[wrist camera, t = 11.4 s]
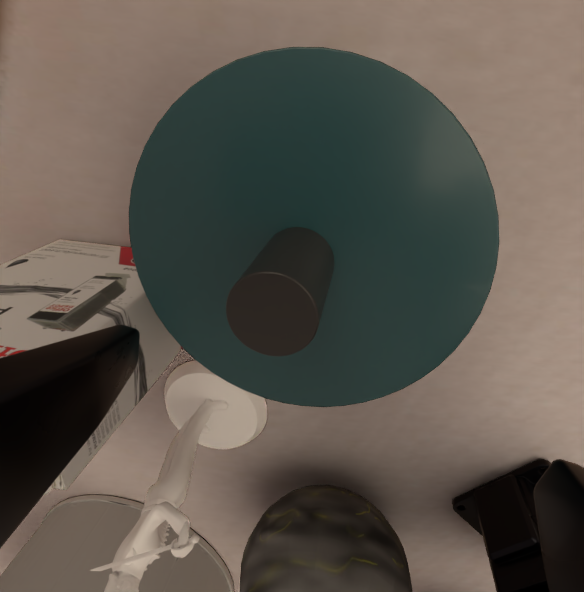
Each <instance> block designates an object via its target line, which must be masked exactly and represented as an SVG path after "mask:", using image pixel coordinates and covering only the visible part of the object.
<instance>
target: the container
mask: <svg viewBox="0 0 584 592" xmlns="http://www.w3.org/2000/svg"><path fill="white" fill-rule="evenodd" d="M143 508H144V504H142V503H139V502H136V501H132V500H128V499H124V498H119V497H114V496H106V495H84V496H77V497H73V498H69V499H67V500H64V501H62V502H60V503H58V504H57V505H56V506H54V507H53V508H52V509H51V510H50V511H49V513H48V514H47V515H46V517H45V518H44V520H43V522H42V524H41V526H40V527H39V528H38V530H37V531H36V532H35V533H34V535H33V536H32V537H31V538H30V539H29V541H28V542H27V543H26V544H25V546H24V547H23V548H22V549H21V551H20V552H19V553H18V554H17V556H16V557H15V558H14V559H13V561H12V562H11V563H10V564H9V566H8V567H7V568H6V569H5V571H4V572H3V573H2V574H1V576H0V592H104V590H105V588H106V585H107V583H108V581H109V574H112V573H113V571H112V568H109V569H106V570H103V571H90V570H91V569H94V568H97V567H101V566H104V565H107V564H110V563H112V562H113V559H114V557H115V554H116V552H117V550H118V548H119V547H120V545H121V543H122V542H123V540H124V539H125V538H126V537H127V535H128V534H129V533H130V532H131V530H132V529H133V528H134V526H135V525H136V523H137V522H138V520H139V518H140V517H141V512H142V509H143ZM169 526H170V524H169ZM168 529H169V531H166V533H169V536H166V537H165V538H166V539H167V541H165V542H164V543H165V544H166V545H165V546H167V545H170V544H171V543H172V541H173V540H174V539H176V538H177V541H178V538H179V535H178V534H177V533H176V532H175V531H174V530H173V528H172V527H168ZM188 531H189V538H191V537H192V536H193V534H194V533H195V532H194V531H193V530H192V529H190V528H189V530H188ZM196 535H198V534H197V533H196ZM198 536H199V535H198ZM199 537H200V536H199ZM178 548H180V547H178ZM158 555H160V558H159V559H155V560H154V561H153V562H152V564H148V565H147V570H146V571H144V573H143V576H142V579H141V580H140V583H139V587H138V589H139V592H234V587H233V581H232V578H231V576H230V573H229V571H228V569H227V567H226V565H225V564H224V562H223V561H222V559H221V558H220V556H219V555H218V554H217V553H216V552H215V551H214V549H213V548H212V547H211V546H210V545H209V544H208V543H207V542H206V541H205V540H204V539H203V538H201V537H200V539H199V541H198V543H195V544H194V546H193V549H192V550H191V551H190V552H189V553H188V554H187V555H186V556H185V557H183V558H181V557H175V556H173V554H172V553H171V549H170V550H166V551H163V552H162V553H159V554H158Z"/></svg>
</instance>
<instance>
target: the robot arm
mask: <svg viewBox="0 0 584 592" xmlns="http://www.w3.org/2000/svg"><path fill="white" fill-rule="evenodd" d="M139 340H140V334H139V331H138V330H137V329H136V328H132V327H129V326H126V325H122V324H119V325H115V326H112V327H108V328H105V329H101V330H98V331H94V332H91V333H87V334H84V335H80V336H76V337H73V338H69V339H66V340H62V341H59V342H55V343H52V344H48V345H45V346H41V347H38V348H34V349H30V350H27V351H23V352H20V353H16V354H13V355H9V356H6V357H2V358H0V548H1V547H2V545H3V544H4V543H5V542H6V541H7V539H8V538H9V537H10V536H11V534H12V533H13V532H14V531H15V529H16V528H17V527H18V526H19V524H20V523H21V522H22V521H23V519H24V518H25V517H26V516H27V515H28V513H29V512H30V511H31V510H32V508H33V507H34V506H35V505H36V503H37V502H38V501H39V500H40V498H41V497H42V496H43V495H44V493H45V492H46V491H47V490H48V489H49V487H50V486H51V485H52V484H53V482H54V481H55V480H56V479H57V477H58V476H59V475H60V474H61V472H62V471H63V470H64V469H65V467H66V466H67V465H68V464H69V463H70V461H71V460H72V459H73V458H74V456H75V455H76V454H77V453H78V451H79V450H80V449H81V448H82V446H83V445H84V444H85V443H86V441H87V440H88V439H89V438H90V437H91V435H92V434H93V433H94V431H95V430H96V429H97V427H98V426H99V425H100V423H101V422H102V420H103V419H104V417H105V416H106V414H107V413H108V411H109V409H110V408H111V406H112V405H113V403H114V402H115V400H116V399H117V397H118V395H119V394H120V392H121V391H122V389H123V388H124V386H125V385H126V383H127V381H128V380H129V378H130V377H131V375H132V374H133V372H134V370H135V369H136V366H137V364H138V358H139ZM541 468H544V469H541ZM452 504H453V509H454V510H455V512H457V513H458V514H459V515H460V516H461V517H462V518H463V519H464V520H465V521H467V522H468V523H469V524H470V525H471V526H472V527H473V528H474V529H475V530H477V531H478V532H479V533H480V534H481V535H482V536H483V539H484V543H485V547H486V551H487V555H488V558H489V562H490V566H491V570H492V574H493V578H494V582H495V586H496V591H497V592H584V468H583V467H581V466H580V465H578V464H575V463H571V462H568V461H565V460H561V459H557V460H555V461H553V462H552V463H550V462H548V461H547V460H543V459H539V460H536V461H534V462H532V463H529V464H527V465H525V466H523V467H521V468H519V469H516V470H514V471H512V472H510V473H508V474H506V475H503V476H501V477H499V478H497V479H495V480H493V481H490V482H488V483H486V484H484V485H482V486H480V487H477V488H475V489H473V490H471V491H469V492H467V493H464V494H462V495H460V496H458V497H456V498H454V499H453V500H452Z"/></svg>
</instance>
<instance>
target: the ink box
mask: <svg viewBox="0 0 584 592" xmlns="http://www.w3.org/2000/svg"><path fill="white" fill-rule="evenodd" d="M119 324H122V325H126V326H129V327H132V328H136V329H137V330H138V331H139V334H140V340H139V358H138V364H137V366H136V369H135V370H134V372H133V374H132V375H131V377H130V378H129V380H128V381H127V383H126V385H125V386H124V388H123V389H122V391H121V392H120V394H119V395H118V397H117V399H116V400H115V402H114V403H113V405H112V406H111V408H110V409H109V411H108V413H107V414H106V416H105V417H104V419H103V420H102V422H101V423H100V425H99V426H98V427H97V429H96V430H95V431H94V433H93V434H92V435H91V437H90V438H89V439H88V440H87V441H86V443H85V444H84V445H83V446H82V448H81V449H80V450H79V451H78V453H77V454H76V455H75V456H74V458H73V459H72V460H71V461H70V463H69V464H68V465H67V466H66V467H65V469H64V470H63V471H62V472H61V474H60V475H59V476H58V477H57V479H56V480H55V481H54V482H53V484H52V485H51V486H50V487H49V489H48V490H47V491H46V492H45V493H44V495H46V494H48V493H49V492H50V491H51V490H52V489H53V488H56V489H61V490H67V489H68V488H69V486H70V485H71V484H72V483H73V481H74V480H75V479H76V478H77V476H78V475H79V474H80V473H81V472H82V470H83V469H84V468H85V467H86V465H87V464H88V463H89V462H90V461H91V459H92V458H93V457H94V456H95V455H96V453H97V452H98V451H99V450H100V448H101V447H102V446H103V444H104V443H105V442H106V441H107V440H108V438H109V437H110V436H111V435H112V434H113V433H114V431H115V430H116V429H117V428H118V427H119V425H120V424H121V423H122V422H123V421H124V419H125V418H126V417H127V416H128V414H129V413H130V412H131V411H132V410H133V409H134V407H135V406H136V405H137V404H138V403H139V401H140V400H141V399H142V398H143V397H144V395H145V394H146V393H147V392H148V391H149V389H150V388H151V387H152V386H153V384H154V383H155V382H156V381H157V379H158V378H159V377H160V376H161V374H162V373H163V372H164V371H165V369H166V368H167V367H168V366H169V364H170V363H171V362H172V361H173V359H174V358H175V357H176V356H177V354H178V353H179V352H180V350H181V349H182V347H181V346H180V344H179V343H178V342H177V341H176V340H175V339H174V337H173V336H172V335H171V334H170V333H169V332H168V330H167V329H166V328H165V326H164V325H163V323H162V322H161V320H160V319H159V317H158V316H157V314H156V313H155V311H154V309H153V307H152V305H151V304H150V302H149V300H148V298H147V296H146V294H145V291H144V289H143V286H142V284H141V282H140V279H139V277H138V273H137V269H136V266H135V262H134V259H133V254H132V248H131V247H122V246H114V245H104V244H96V243H88V242H78V241H70V240H62V239H59V240H57V241H54V242H52V243H50V244H47V245H45V246H43V247H40V248H38V249H36V250H34V251H31V252H29V253H27V254H24V255H22V256H20V257H17V258H15V259H13V260H10V261H8V262H6V263H3V264H1V265H0V358H2V357H6V356H9V355H13V354H16V353H20V352H23V351H27V350H30V349H34V348H38V347H41V346H45V345H48V344H52V343H55V342H59V341H62V340H66V339H69V338H73V337H76V336H80V335H84V334H87V333H91V332H94V331H98V330H101V329H105V328H108V327H112V326H115V325H119Z"/></svg>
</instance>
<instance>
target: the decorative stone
mask: <svg viewBox="0 0 584 592" xmlns="http://www.w3.org/2000/svg"><path fill="white" fill-rule="evenodd" d="M240 592H412V585H411V578H410V573H409V568H408V562H407V558H406V555H405V552H404V548H403V546H402V544H401V542H400V540H399V538H398V536H397V534H396V533H395V531H394V530H393V528H392V527H391V525H390V524H389V523H388V521H387V520H386V518H385V517H384V516H383V514H382V513H381V512H380V511H379V510H378V509H377V508H376V507H374V506H373V505H372V504H371V503H369V502H368V501H367V500H366V499H364V498H363V497H362V496H360V495H357V494H355V493H353V492H351V491H349V490H346V489H344V488H339V487H335V486H330V485H324V486H308V487H305V488H301V489H297V490H295V491H292V492H290V493H289V494H287V495H286V496H284V497H283V498H281V499H280V500H278V501H277V502H275V503H274V504H273V505H272V506H270V507H269V508H268V510H267V511H266V512H265V513H264V514H263V516H262V517H261V519H260V521H259V522H258V524H257V525H256V527H255V529H254V530H253V532H252V534H251V536H250V537H249V539H248V542H247V545H246V547H245V550H244V554H243V559H242V563H241V576H240Z"/></svg>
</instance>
